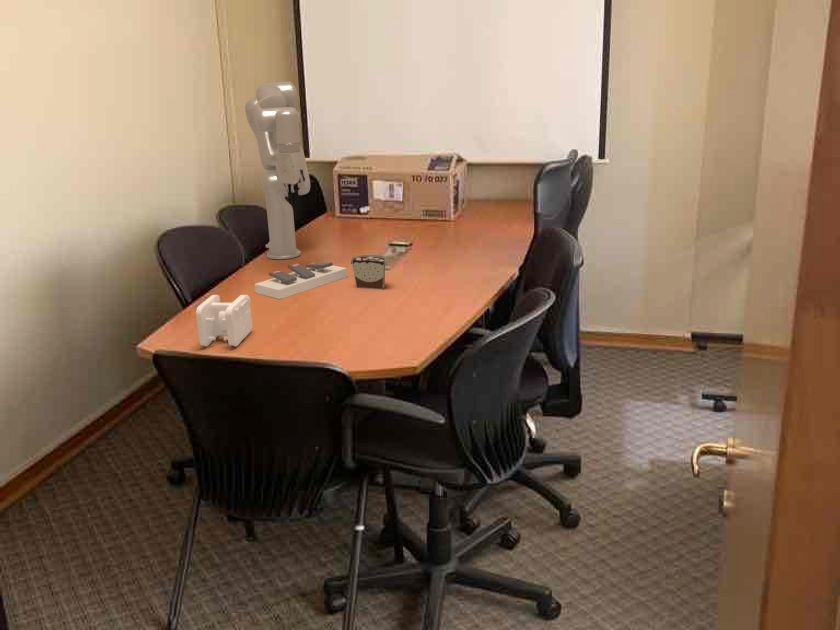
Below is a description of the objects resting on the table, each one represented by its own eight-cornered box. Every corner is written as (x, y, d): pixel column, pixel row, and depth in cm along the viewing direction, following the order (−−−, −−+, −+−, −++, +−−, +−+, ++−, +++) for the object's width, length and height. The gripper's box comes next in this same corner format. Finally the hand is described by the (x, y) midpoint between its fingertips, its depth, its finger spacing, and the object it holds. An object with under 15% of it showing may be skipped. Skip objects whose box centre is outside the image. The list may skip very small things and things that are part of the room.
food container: (394, 284, 286) (392, 254, 283) (387, 290, 280) (385, 259, 277) (359, 282, 290) (357, 253, 287) (352, 287, 284) (350, 258, 281)
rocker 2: (287, 267, 289) (288, 264, 289) (296, 264, 292) (297, 261, 292) (305, 279, 285) (306, 276, 284) (314, 276, 288) (315, 273, 287)
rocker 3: (306, 267, 296) (305, 264, 295) (315, 265, 298) (314, 261, 298) (324, 268, 290) (323, 264, 289) (332, 265, 292) (332, 262, 292)
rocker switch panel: (255, 292, 283) (254, 281, 282) (323, 271, 304) (322, 260, 303) (279, 299, 275) (278, 287, 274) (347, 276, 297) (346, 265, 295)
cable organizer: (219, 330, 249) (214, 291, 246) (255, 331, 248) (250, 292, 244) (199, 349, 235) (194, 308, 231) (237, 350, 234) (232, 309, 230)
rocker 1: (268, 275, 284) (268, 272, 284) (278, 272, 287) (278, 269, 286) (287, 283, 279) (287, 280, 278) (296, 280, 282) (296, 277, 281)
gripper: (265, 148, 289) (270, 203, 295) (295, 151, 279) (300, 208, 285) (283, 145, 294) (287, 199, 300) (313, 148, 285) (317, 203, 290)
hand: (294, 203), depth 292 cm, fingers closed
